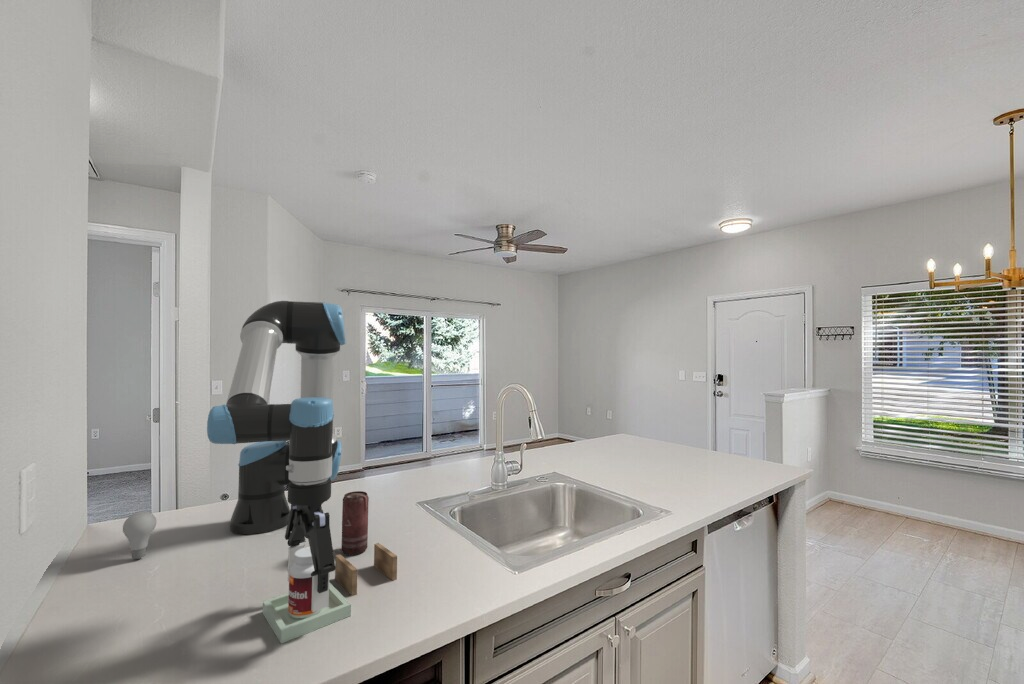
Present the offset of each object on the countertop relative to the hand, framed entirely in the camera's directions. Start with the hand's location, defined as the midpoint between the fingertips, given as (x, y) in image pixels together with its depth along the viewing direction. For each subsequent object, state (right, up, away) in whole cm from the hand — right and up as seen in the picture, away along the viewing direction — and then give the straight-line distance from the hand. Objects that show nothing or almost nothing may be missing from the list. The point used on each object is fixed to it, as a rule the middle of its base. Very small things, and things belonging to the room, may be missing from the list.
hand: (307, 593), depth 83 cm
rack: (+7, -4, +13) cm, 15 cm away
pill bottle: (0, -3, 0) cm, 4 cm away
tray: (0, -4, 0) cm, 4 cm away
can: (-1, -5, +27) cm, 27 cm away
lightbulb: (-50, -4, +21) cm, 54 cm away
